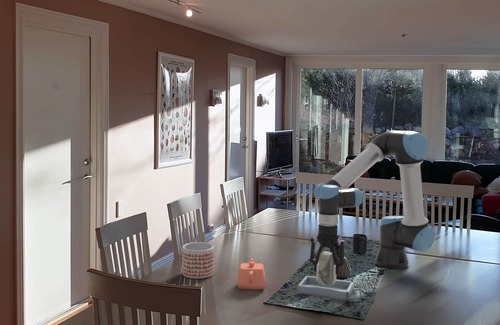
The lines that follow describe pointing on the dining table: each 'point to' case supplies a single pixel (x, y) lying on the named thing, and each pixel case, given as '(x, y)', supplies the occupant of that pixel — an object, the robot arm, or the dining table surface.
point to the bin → (326, 288)
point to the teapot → (251, 276)
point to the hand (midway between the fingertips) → (326, 280)
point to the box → (326, 268)
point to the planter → (198, 260)
